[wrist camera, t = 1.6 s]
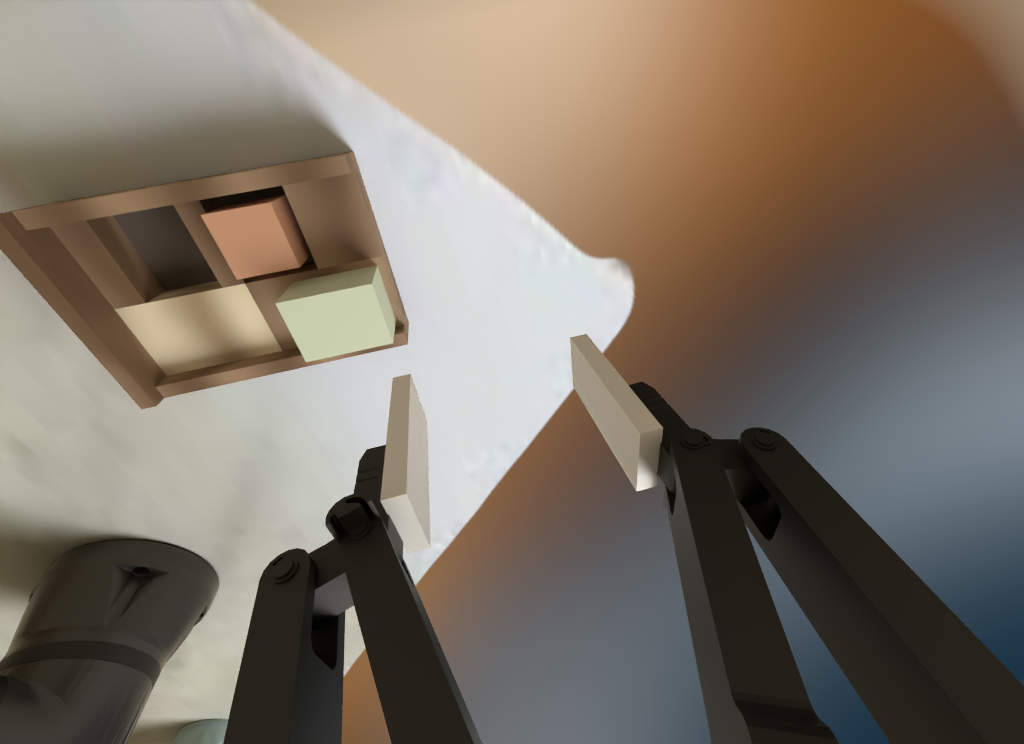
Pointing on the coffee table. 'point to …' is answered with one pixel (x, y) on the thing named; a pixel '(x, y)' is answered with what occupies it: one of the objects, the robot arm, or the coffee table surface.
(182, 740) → the grey-blue cup
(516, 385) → the coffee table surface
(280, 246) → the rust block
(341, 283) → the sage block
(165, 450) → the coffee table surface
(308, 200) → the wooden tray
